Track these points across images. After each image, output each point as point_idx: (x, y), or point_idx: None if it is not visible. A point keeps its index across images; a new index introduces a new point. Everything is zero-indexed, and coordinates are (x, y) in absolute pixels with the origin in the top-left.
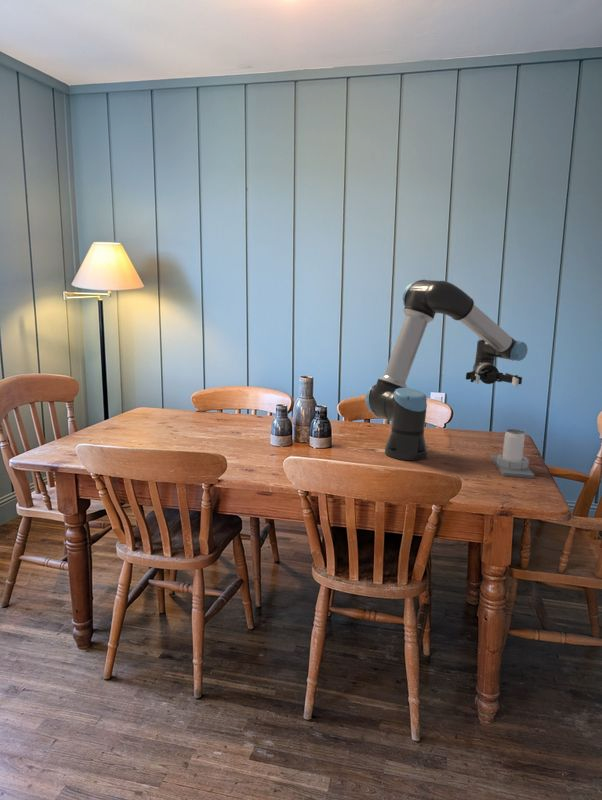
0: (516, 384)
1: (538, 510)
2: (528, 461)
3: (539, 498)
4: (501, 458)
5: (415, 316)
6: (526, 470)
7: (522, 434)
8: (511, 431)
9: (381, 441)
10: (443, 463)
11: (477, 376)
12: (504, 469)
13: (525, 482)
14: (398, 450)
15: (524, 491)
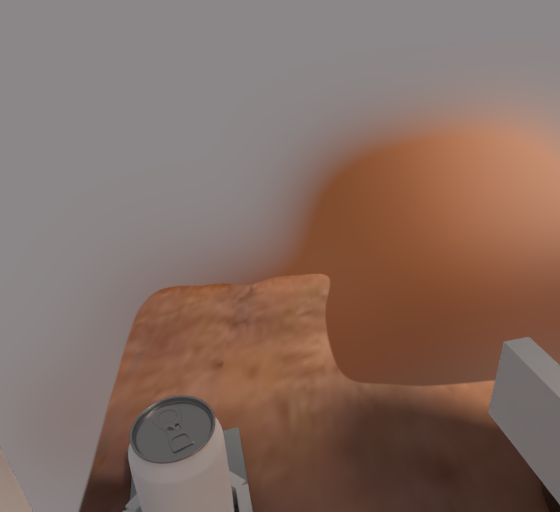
0: (12, 493)
1: (188, 290)
2: (126, 506)
3: (169, 332)
4: (239, 484)
5: None
6: None
7: (145, 416)
8: (190, 434)
9: None
10: (453, 469)
11: (538, 352)
12: (230, 462)
13: None
14: None
15: (195, 353)
